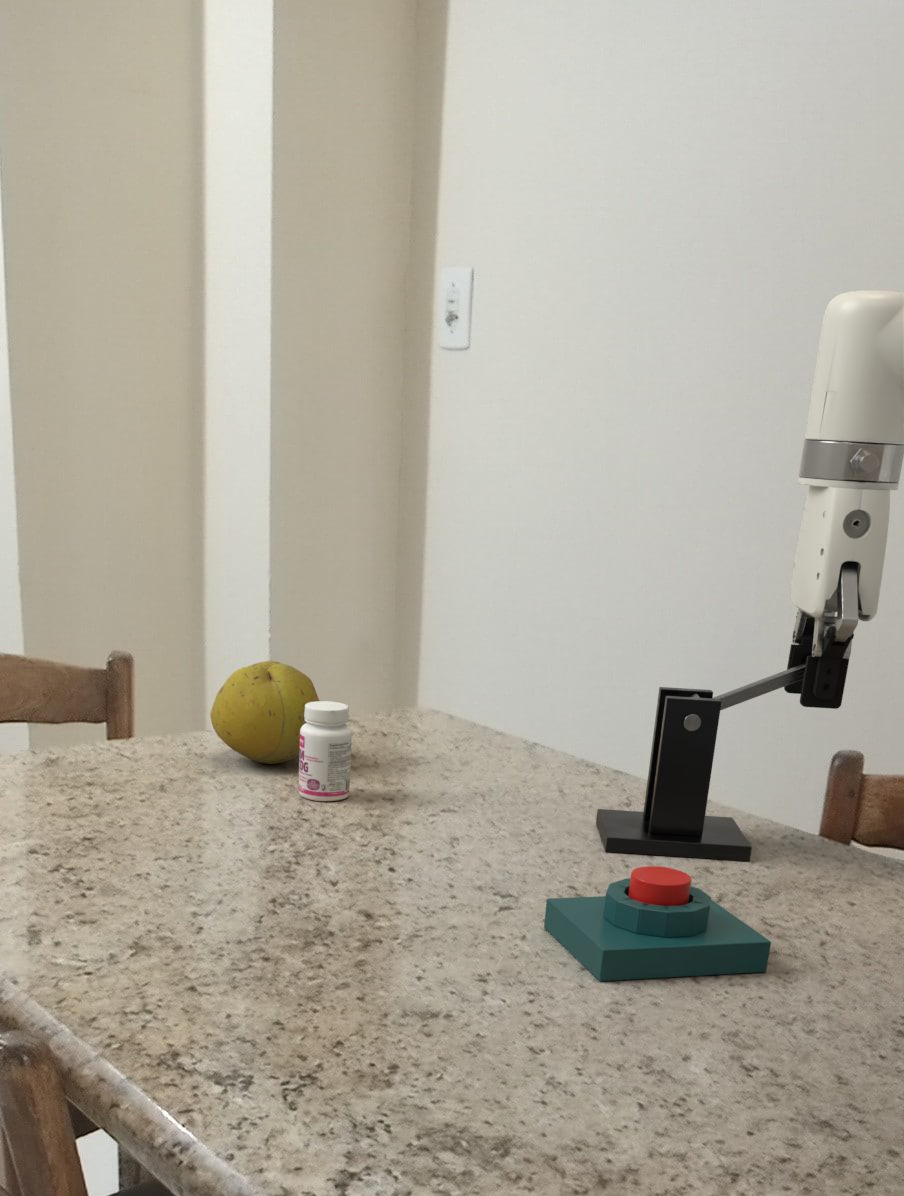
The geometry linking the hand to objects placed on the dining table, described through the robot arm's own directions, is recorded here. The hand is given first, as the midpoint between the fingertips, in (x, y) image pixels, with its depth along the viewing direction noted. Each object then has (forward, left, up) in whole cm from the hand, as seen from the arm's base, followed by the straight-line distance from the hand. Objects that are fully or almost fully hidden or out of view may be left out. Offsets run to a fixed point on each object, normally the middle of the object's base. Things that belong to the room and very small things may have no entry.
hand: (811, 697), depth 114 cm
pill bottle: (+36, -20, -13) cm, 44 cm away
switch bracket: (+10, -3, -13) cm, 16 cm away
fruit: (+40, -33, -13) cm, 53 cm away
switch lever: (+5, -1, -1) cm, 5 cm away
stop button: (+22, +21, -9) cm, 32 cm away
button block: (+22, +21, -13) cm, 33 cm away
